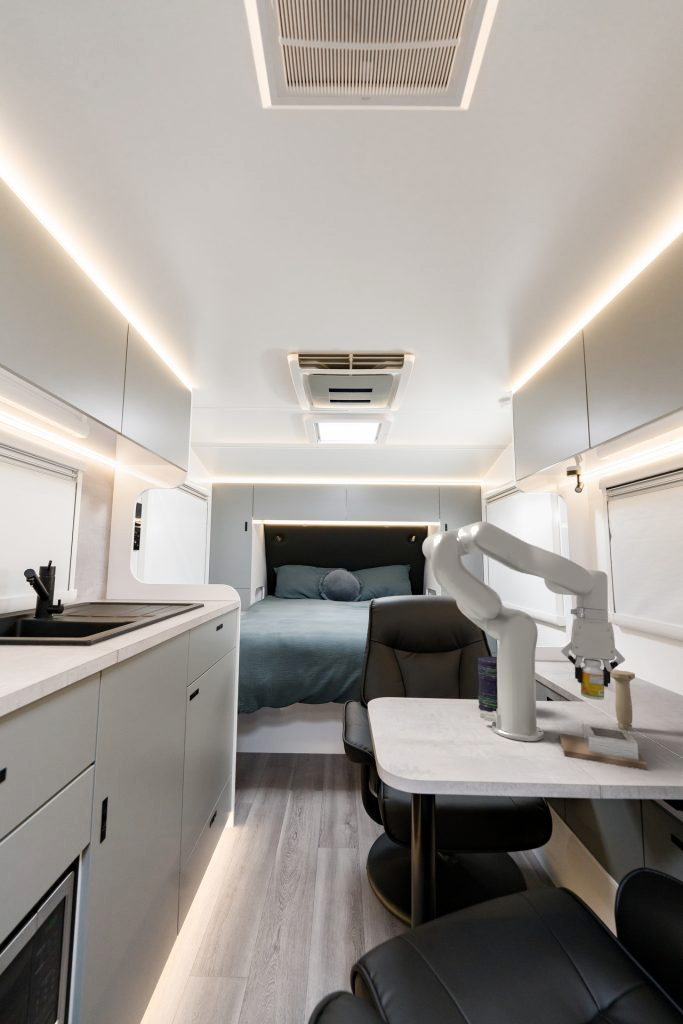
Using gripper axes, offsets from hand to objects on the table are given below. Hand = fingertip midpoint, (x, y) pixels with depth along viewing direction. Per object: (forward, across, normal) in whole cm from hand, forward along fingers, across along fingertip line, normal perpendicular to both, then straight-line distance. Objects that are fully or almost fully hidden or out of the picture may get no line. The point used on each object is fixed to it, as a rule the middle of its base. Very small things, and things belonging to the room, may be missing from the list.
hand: (592, 683), depth 115 cm
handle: (+13, +9, +10) cm, 18 cm away
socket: (+12, +1, -13) cm, 18 cm away
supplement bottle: (+4, 0, 0) cm, 4 cm away
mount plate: (+13, -1, -13) cm, 19 cm away
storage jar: (+14, -25, +10) cm, 30 cm away
